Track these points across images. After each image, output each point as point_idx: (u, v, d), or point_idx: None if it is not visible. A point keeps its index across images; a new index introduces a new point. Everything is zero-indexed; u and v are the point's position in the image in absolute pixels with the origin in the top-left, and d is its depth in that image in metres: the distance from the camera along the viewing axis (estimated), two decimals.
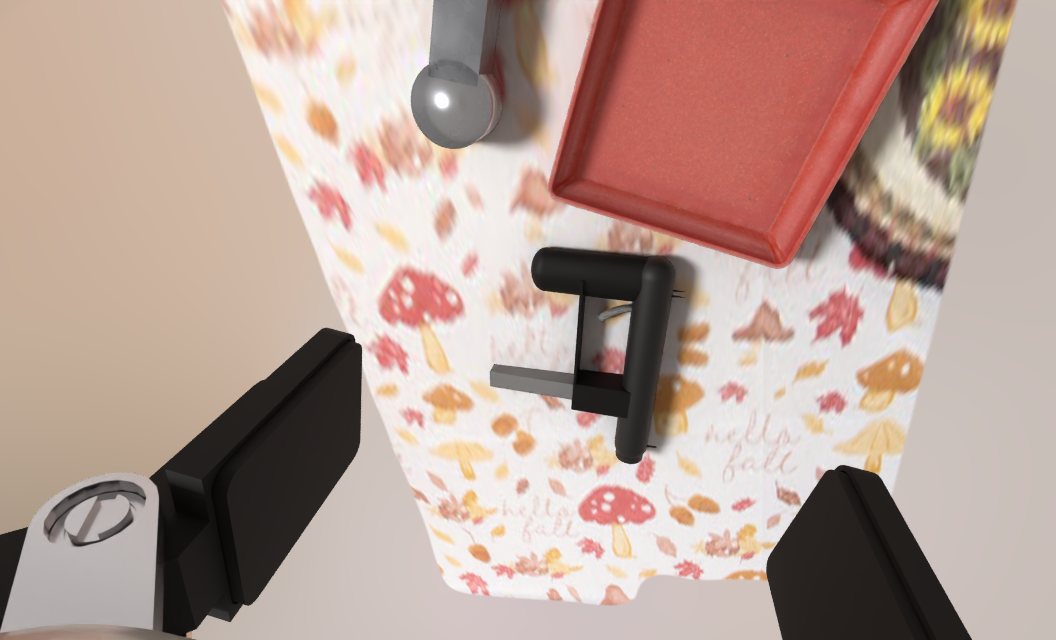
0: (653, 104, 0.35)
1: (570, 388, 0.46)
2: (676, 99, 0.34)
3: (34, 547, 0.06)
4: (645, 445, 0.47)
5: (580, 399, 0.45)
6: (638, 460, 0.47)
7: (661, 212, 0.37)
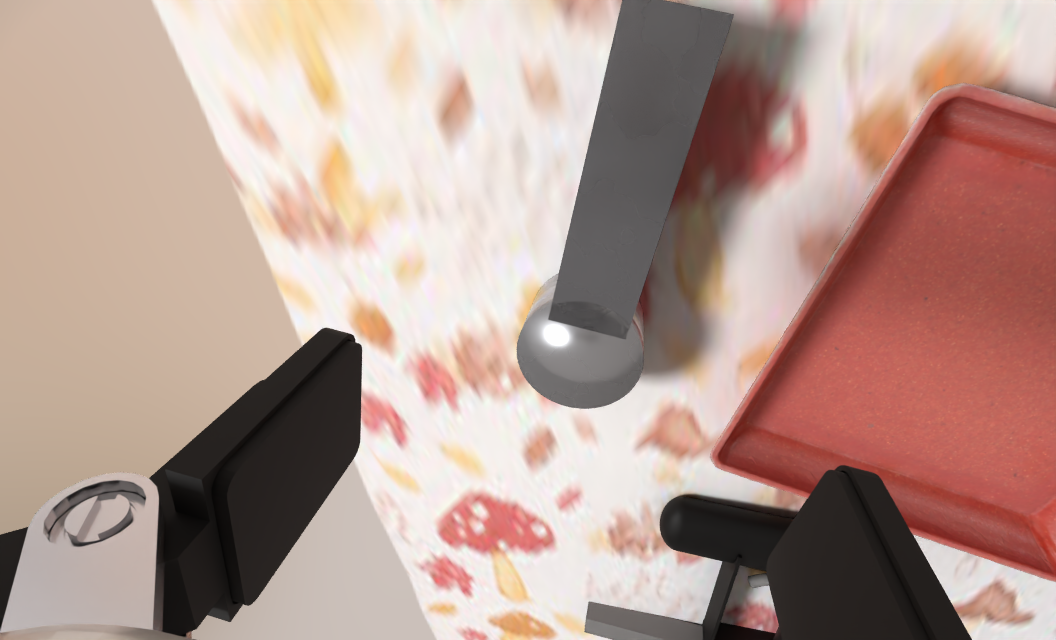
0: (886, 350, 0.23)
1: None
2: (926, 348, 0.22)
3: (34, 547, 0.06)
4: None
5: None
6: None
7: None
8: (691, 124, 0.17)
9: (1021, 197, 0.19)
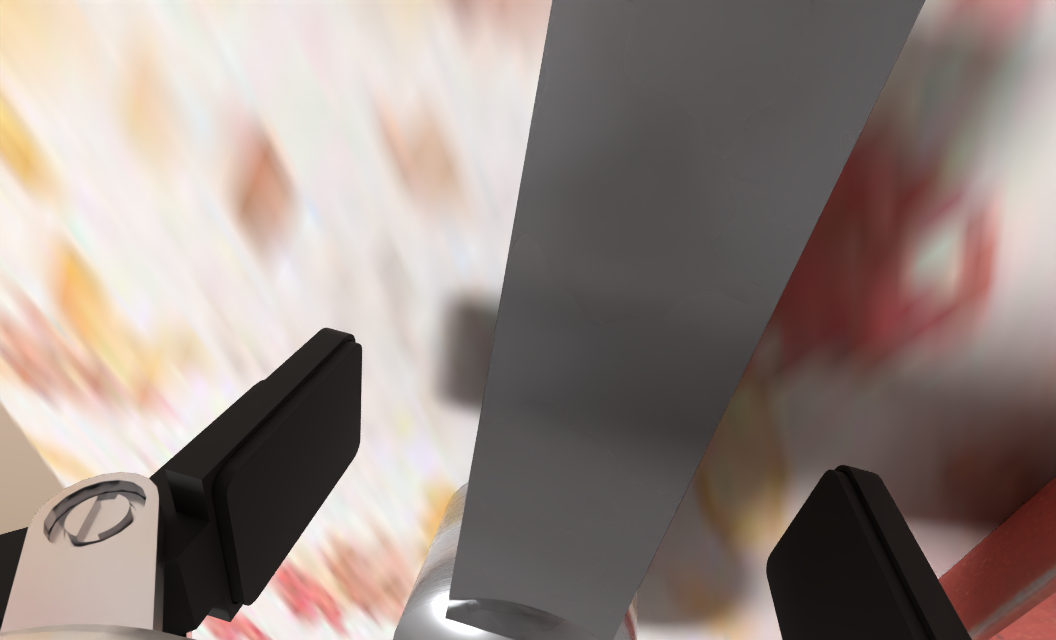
0: None
1: None
2: None
3: (34, 547, 0.06)
4: None
5: None
6: None
7: None
8: (762, 299, 0.06)
9: None
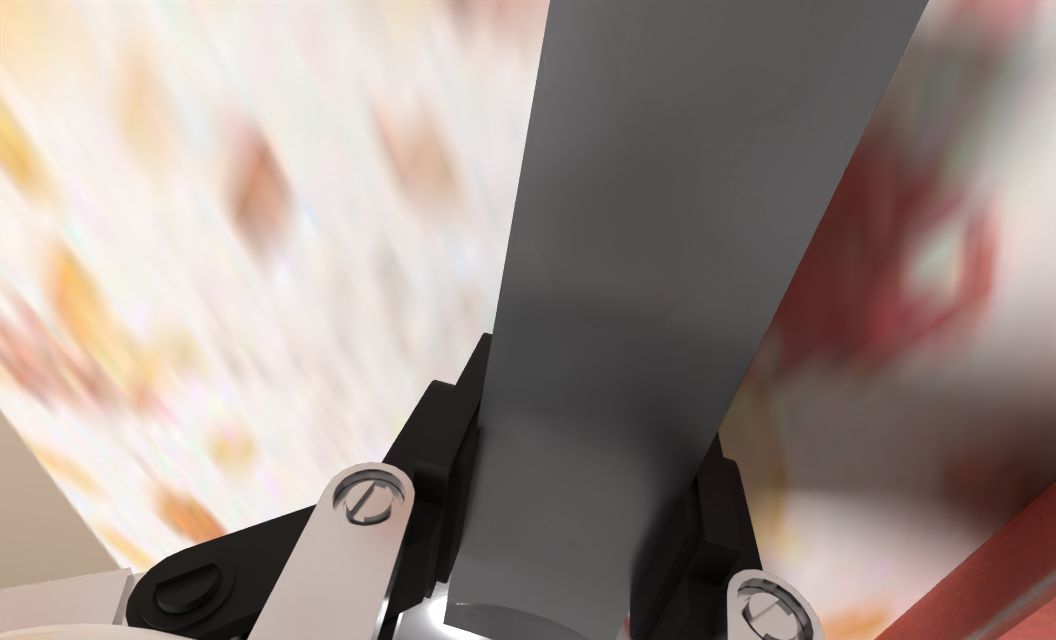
0: None
1: None
2: None
3: (335, 525, 0.06)
4: None
5: None
6: None
7: None
8: (762, 304, 0.06)
9: None
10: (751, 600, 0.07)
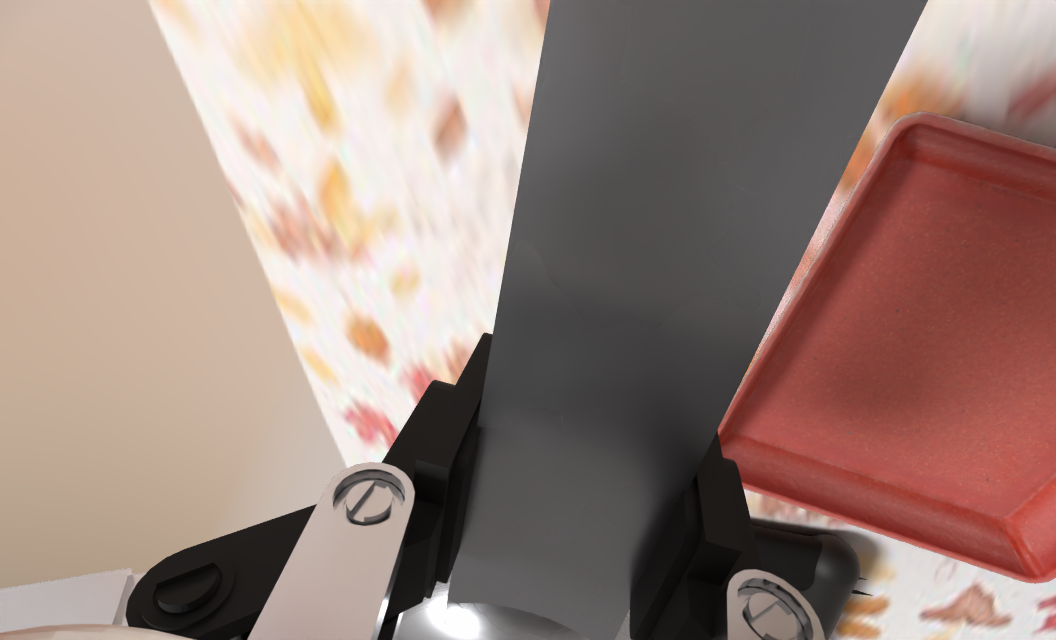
0: (862, 360, 0.24)
1: None
2: (899, 358, 0.23)
3: (335, 525, 0.06)
4: None
5: None
6: None
7: (853, 488, 0.26)
8: (761, 305, 0.06)
9: (982, 215, 0.20)
10: (751, 600, 0.07)
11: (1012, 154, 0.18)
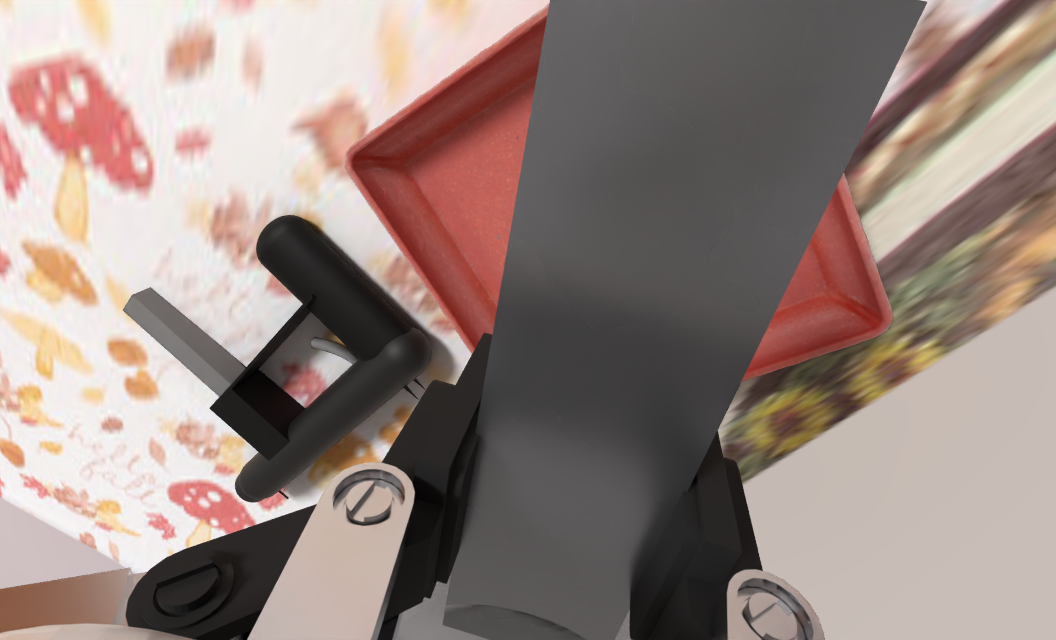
0: None
1: (225, 386, 0.32)
2: None
3: (335, 525, 0.06)
4: (274, 492, 0.36)
5: (227, 407, 0.32)
6: (256, 500, 0.36)
7: (467, 289, 0.26)
8: (760, 307, 0.06)
9: None
10: (751, 600, 0.07)
11: None
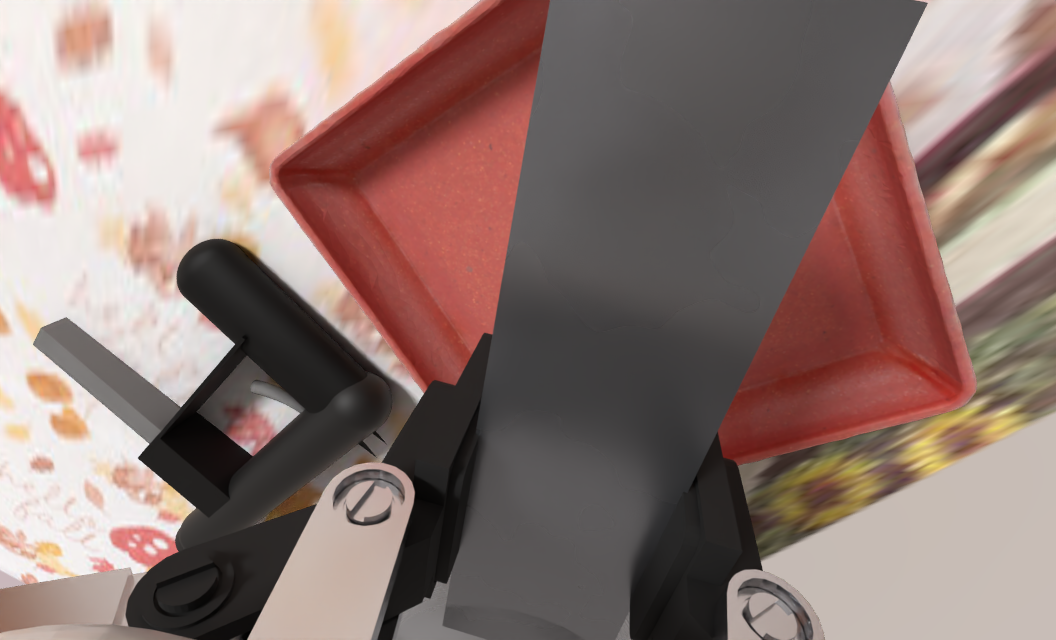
0: None
1: (155, 432, 0.27)
2: None
3: (336, 525, 0.06)
4: None
5: (157, 457, 0.27)
6: None
7: (432, 332, 0.21)
8: (760, 308, 0.06)
9: None
10: (751, 600, 0.07)
11: None
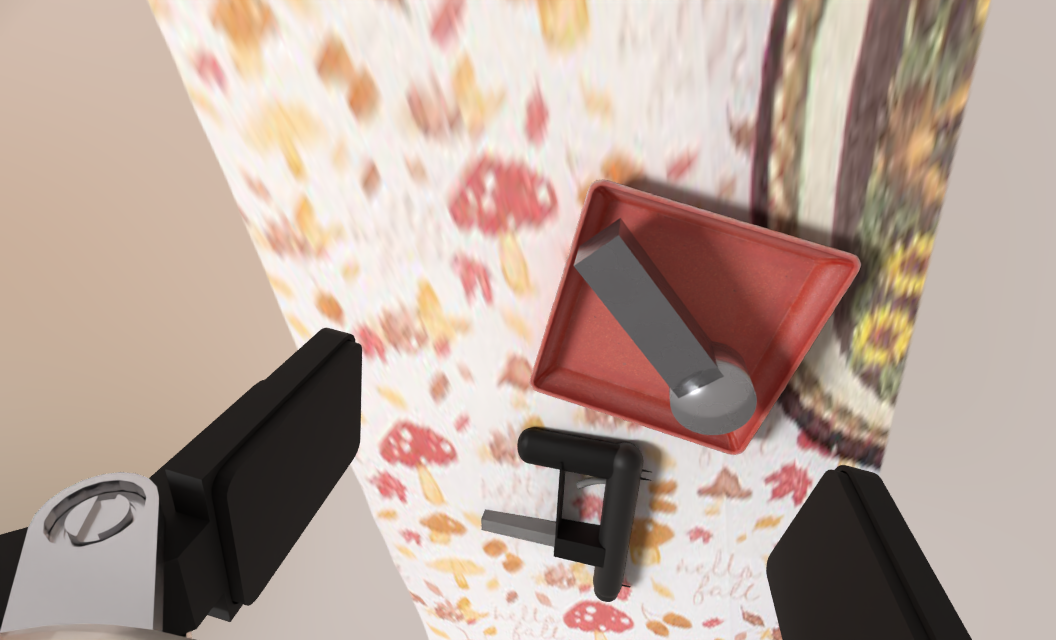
0: None
1: (552, 538, 0.51)
2: None
3: (34, 547, 0.06)
4: (620, 587, 0.52)
5: (561, 549, 0.51)
6: (614, 598, 0.53)
7: (630, 399, 0.42)
8: (646, 277, 0.31)
9: (663, 231, 0.36)
10: None
11: (653, 201, 0.33)
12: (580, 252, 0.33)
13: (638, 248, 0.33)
